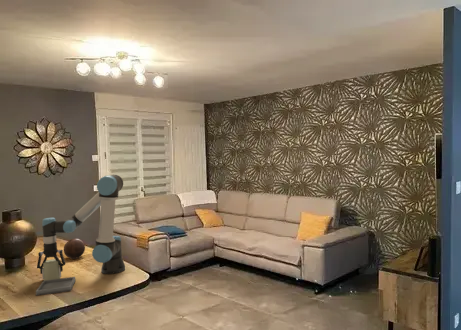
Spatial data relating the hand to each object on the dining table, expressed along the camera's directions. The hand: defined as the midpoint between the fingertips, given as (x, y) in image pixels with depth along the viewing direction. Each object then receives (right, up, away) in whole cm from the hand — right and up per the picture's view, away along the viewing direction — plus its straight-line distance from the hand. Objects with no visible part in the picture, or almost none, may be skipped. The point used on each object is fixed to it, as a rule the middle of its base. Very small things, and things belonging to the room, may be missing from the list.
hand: (52, 277), depth 227 cm
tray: (+11, -1, -16) cm, 19 cm away
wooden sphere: (-5, 0, +46) cm, 47 cm away
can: (0, -1, 0) cm, 1 cm away
